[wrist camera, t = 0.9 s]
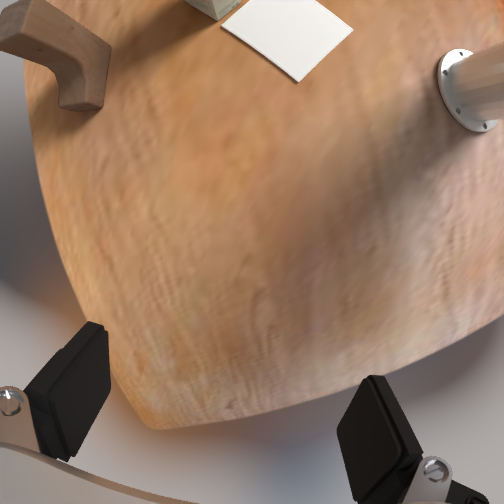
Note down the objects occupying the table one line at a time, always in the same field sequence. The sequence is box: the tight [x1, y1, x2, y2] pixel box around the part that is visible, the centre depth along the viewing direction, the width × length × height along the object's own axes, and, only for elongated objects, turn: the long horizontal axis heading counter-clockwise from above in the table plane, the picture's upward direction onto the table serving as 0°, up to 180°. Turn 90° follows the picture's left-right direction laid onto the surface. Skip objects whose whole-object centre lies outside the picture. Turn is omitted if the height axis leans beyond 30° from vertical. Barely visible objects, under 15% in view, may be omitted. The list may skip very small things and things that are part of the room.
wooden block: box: [0, 0, 111, 112], centre depth 22 cm, size 9×4×18 cm, turn 176°
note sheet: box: [221, 0, 353, 83], centre depth 29 cm, size 11×12×1 cm
